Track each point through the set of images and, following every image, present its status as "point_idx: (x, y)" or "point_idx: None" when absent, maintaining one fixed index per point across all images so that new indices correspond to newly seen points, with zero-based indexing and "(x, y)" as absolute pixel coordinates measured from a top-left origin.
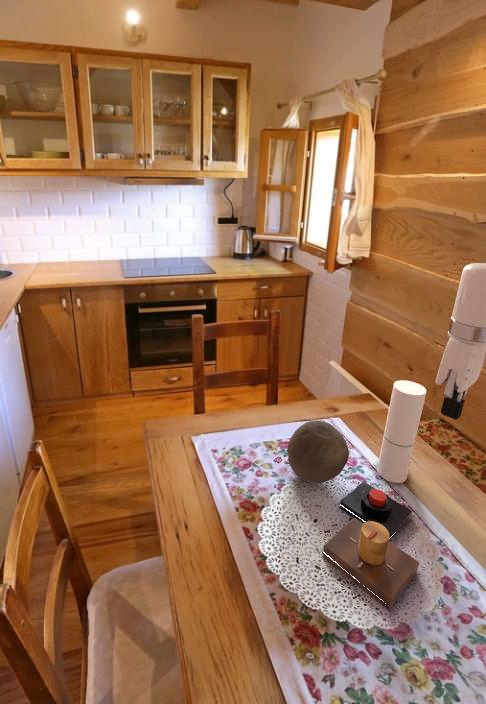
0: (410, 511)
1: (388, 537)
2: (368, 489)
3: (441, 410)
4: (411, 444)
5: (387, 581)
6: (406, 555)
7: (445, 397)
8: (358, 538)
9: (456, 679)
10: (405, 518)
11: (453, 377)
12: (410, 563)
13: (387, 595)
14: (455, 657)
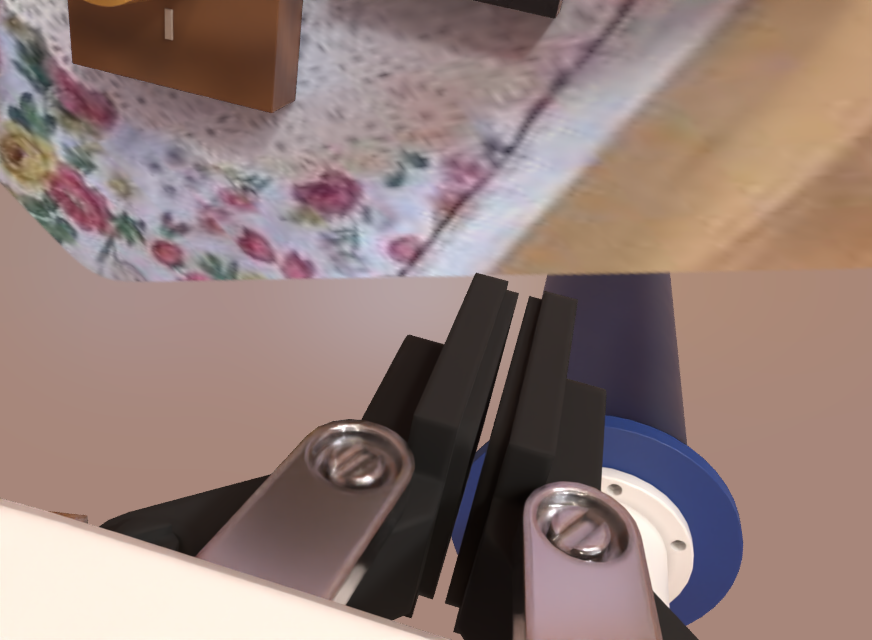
0: (546, 11)
1: (112, 2)
2: None
3: (472, 288)
4: None
5: (113, 33)
6: (264, 63)
7: (329, 435)
8: None
9: (91, 239)
10: (483, 2)
11: None
12: (242, 85)
13: (71, 48)
14: (135, 233)
